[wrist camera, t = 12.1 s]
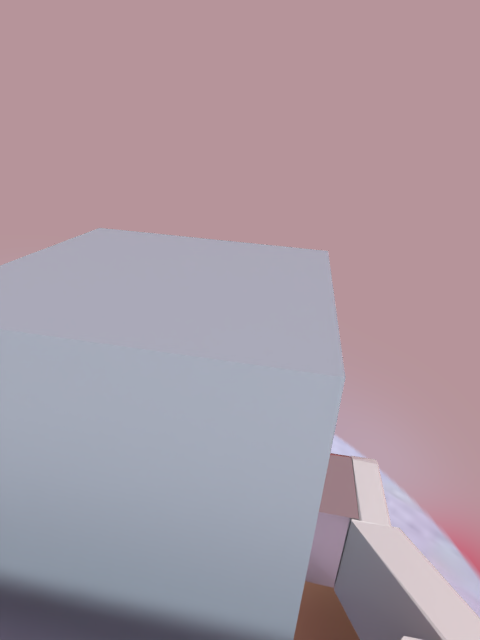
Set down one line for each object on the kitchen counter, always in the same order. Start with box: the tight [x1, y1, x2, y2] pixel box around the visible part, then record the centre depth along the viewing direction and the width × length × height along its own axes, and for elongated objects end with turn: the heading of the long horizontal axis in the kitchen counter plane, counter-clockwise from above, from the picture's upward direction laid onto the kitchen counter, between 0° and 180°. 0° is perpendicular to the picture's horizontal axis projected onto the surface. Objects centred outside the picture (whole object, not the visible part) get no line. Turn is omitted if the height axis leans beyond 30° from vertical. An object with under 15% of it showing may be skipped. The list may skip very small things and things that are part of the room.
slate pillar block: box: [0, 228, 345, 640], centre depth 8 cm, size 5×5×10 cm
